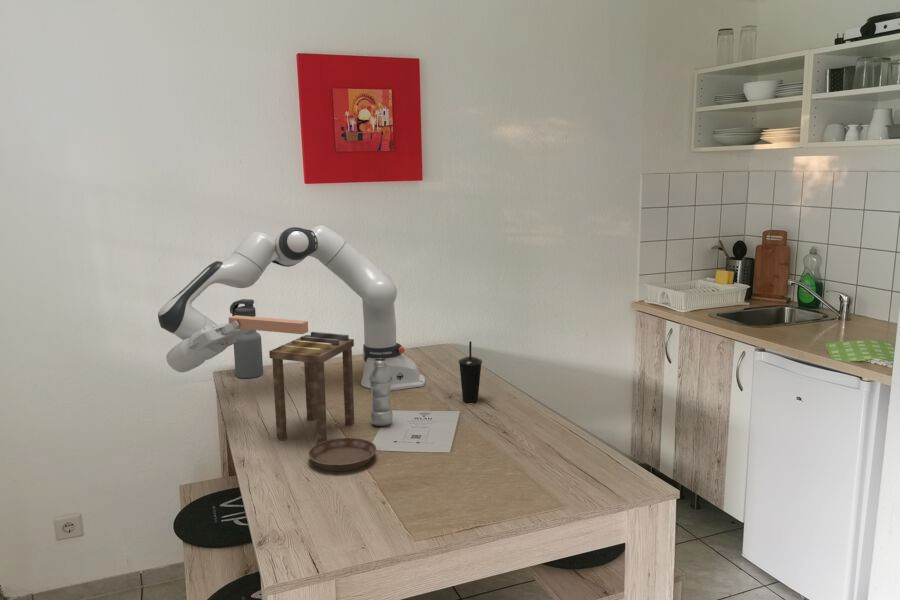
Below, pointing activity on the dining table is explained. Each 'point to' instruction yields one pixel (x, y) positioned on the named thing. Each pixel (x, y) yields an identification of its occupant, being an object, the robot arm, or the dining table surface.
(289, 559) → the dining table surface
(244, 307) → the water bottle
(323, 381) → the walnut stool
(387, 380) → the plastic bottle
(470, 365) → the drinking cup
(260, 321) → the terracotta bar
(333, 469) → the plant saucer
